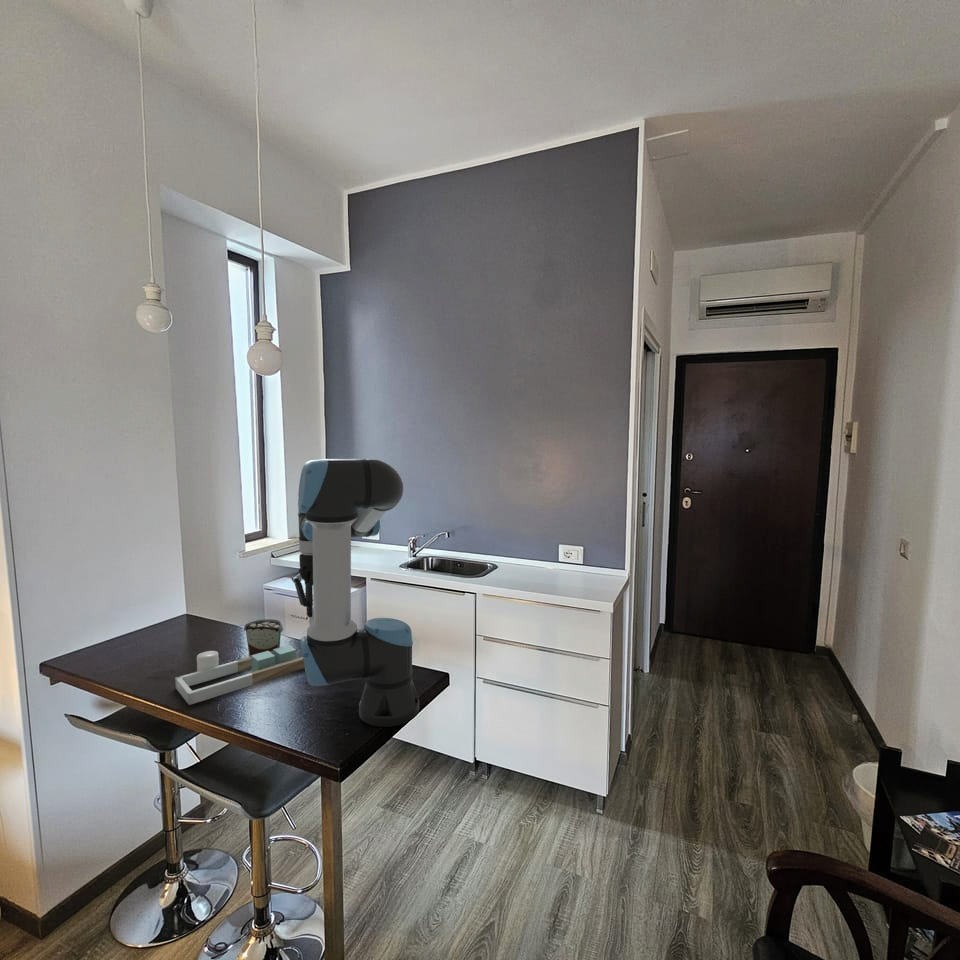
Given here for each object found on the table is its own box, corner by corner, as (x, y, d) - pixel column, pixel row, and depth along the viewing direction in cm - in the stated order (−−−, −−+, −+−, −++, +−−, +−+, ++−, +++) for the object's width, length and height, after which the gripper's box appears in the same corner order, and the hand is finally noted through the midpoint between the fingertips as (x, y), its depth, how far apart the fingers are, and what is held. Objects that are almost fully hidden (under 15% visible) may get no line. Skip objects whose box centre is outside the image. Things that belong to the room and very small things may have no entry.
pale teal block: (296, 665, 162) (296, 649, 161) (280, 670, 158) (280, 654, 158) (289, 660, 165) (289, 644, 165) (273, 665, 162) (273, 649, 161)
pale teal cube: (275, 672, 157) (275, 655, 157) (258, 677, 154) (257, 660, 153) (268, 666, 161) (268, 650, 160) (251, 671, 157) (251, 655, 157)
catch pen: (252, 684, 149) (252, 674, 149) (189, 705, 138) (188, 694, 138) (236, 670, 158) (236, 660, 158) (175, 688, 147) (175, 677, 147)
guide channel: (309, 666, 161) (309, 657, 161) (252, 684, 149) (252, 674, 149) (292, 654, 170) (292, 645, 169) (236, 670, 158) (236, 660, 158)
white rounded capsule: (221, 675, 155) (221, 655, 155) (200, 681, 151) (200, 660, 151) (215, 668, 159) (214, 649, 159) (195, 674, 155) (194, 654, 155)
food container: (290, 649, 174) (289, 619, 173) (281, 657, 168) (281, 626, 167) (254, 647, 175) (253, 617, 174) (244, 655, 169) (243, 624, 168)
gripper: (325, 547, 172) (326, 617, 175) (286, 553, 164) (288, 627, 166) (337, 551, 167) (338, 623, 170) (297, 558, 158) (299, 634, 161)
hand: (313, 625), depth 168 cm, fingers closed
